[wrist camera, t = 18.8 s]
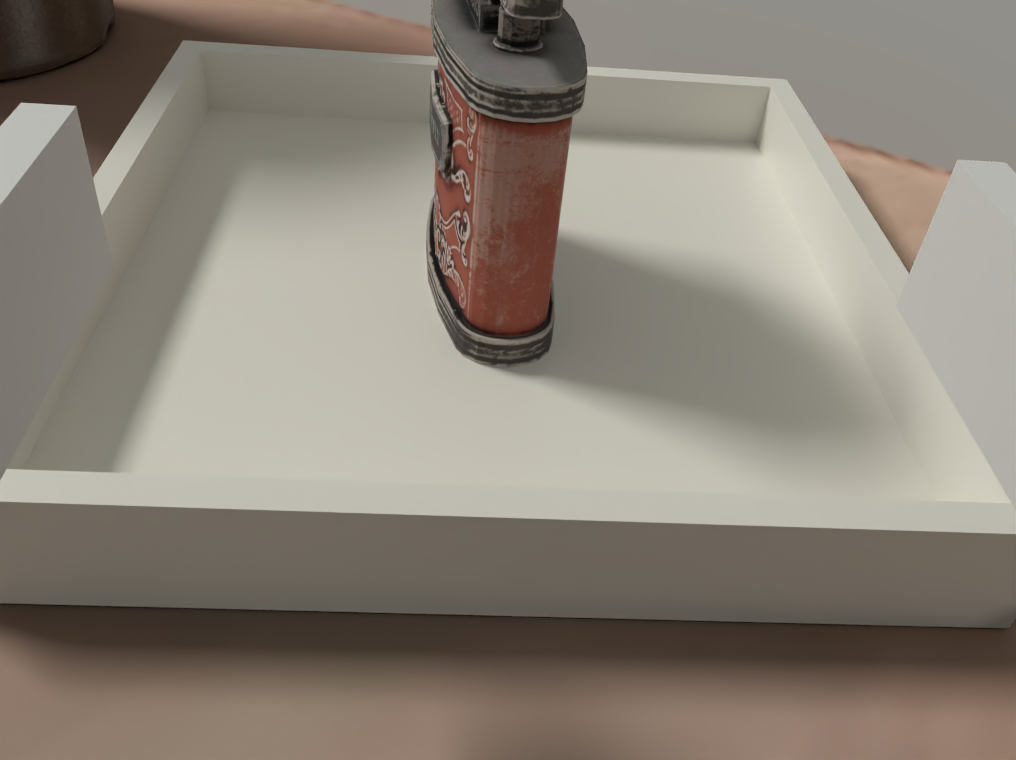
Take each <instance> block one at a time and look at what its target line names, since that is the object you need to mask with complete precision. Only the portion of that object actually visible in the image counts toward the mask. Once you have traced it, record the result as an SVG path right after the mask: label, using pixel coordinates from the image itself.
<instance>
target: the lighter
mask: <svg viewBox="0 0 1016 760" xmlns="http://www.w3.org/2000/svg"><path fill="white" fill-rule="evenodd" d="M431 29H432V39H433V49H434V51H435V54H436V56H437V58H438V70H437V69H434V70H433V71H432V72H431V74H430V115H429V125H430V137H431V148H432V151H433V154H434V156H435V185H434V196H433V198H432V199H431V203H430V209H429V215H428V221H427V229H426V260H427V276H428V284H429V287H430V290H431V294H432V297H433V300H434V303H435V306H436V310H437V313H438V315H439V317H440V319H441V321H442V323H443V325H444V327H445V329H446V331H447V333H448V335H449V337H450V338H451V340H452V342H453V344H454V346H455V348H456V349H457V350H458V351H459V352H460V354H461V355H462V356H463V357H465V358H467V359H469V360H471V361H473V362H475V363H478V364H482V365H486V366H490V367H500V368H513V367H519V366H526V365H529V364H531V363H534V362H536V361H538V360H540V359H541V358H543V357H544V356H545V355H546V354H547V353H548V352H549V349H550V346H551V342H552V335H553V327H554V320H555V308H554V283H553V279H552V276H553V268H554V260H555V252H556V244H557V236H558V228H559V221H560V213H561V205H562V197H563V189H564V181H565V173H566V166H567V158H568V150H569V142H570V134H571V126H572V118H573V115H575V114H577V113H578V112H580V111H581V108H582V106H583V103H584V95H585V88H586V80H587V73H588V71H587V62H586V53H585V45H584V43H583V41H582V38H581V36H580V34H579V31H578V29H577V27H576V24H575V22H574V20H573V19H572V18H571V16H570V15H569V14H568V13H567V11H566V10H565V9H564V8H563V0H432V8H431Z"/></svg>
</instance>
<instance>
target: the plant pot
mask: <svg viewBox="0 0 1016 760" xmlns="http://www.w3.org/2000/svg"><path fill="white" fill-rule="evenodd" d="M114 23H115V12H114V6H113V0H0V80H3V79H8V80H10V79H15V78H21V77H26V76H30V75H33V74H37V73H41V72H44V71H48V70H51V69H54V68H57V67H59V66H62V65H65V64H66V63H68V62H71V61H73V60H76V59H78V58H81V57H83V56H85V55H87V54H90V53H91V52H93V51H94V50H95V49H97V48H98V47H100V46H101V45H103V44H104V42H105V39H106V34H107V30H108V28H109V27H112V26H113V25H114Z"/></svg>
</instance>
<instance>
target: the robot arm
mask: <svg viewBox="0 0 1016 760" xmlns="http://www.w3.org/2000/svg"><path fill="white" fill-rule="evenodd" d="M112 269H113V263H112V259H111V255H110V250H109V246H108V241H107V237H106V233H105V228H104V224H103V220H102V215H101V211H100V207H99V202H98V198H97V194H96V189H95V185H94V181H93V176H92V172H91V168H90V163H89V159H88V155H87V150H86V146H85V142H84V137H83V133H82V129H81V124H80V120H79V115H78V111H77V107H76V106H68V105H52V104H35V103H20V104H19V106H18V107H17V108H16V109H15V110H14V111H13V112H12V114H11V115H10V116H9V117H8V118H7V119H6V120H5V121H4V123H3V124H2V125H1V126H0V480H1V478H2V476H3V475H4V473H5V471H6V469H7V467H8V465H9V463H10V461H11V459H12V458H13V456H14V454H15V452H16V450H17V448H18V446H19V444H20V443H21V441H22V439H23V437H24V435H25V433H26V431H27V429H28V427H29V426H30V424H31V422H32V420H33V418H34V416H35V414H36V412H37V411H38V409H39V407H40V405H41V403H42V401H43V399H44V397H45V395H46V394H47V392H48V390H49V388H50V386H51V384H52V382H53V380H54V379H55V377H56V375H57V373H58V371H59V369H60V367H61V365H62V363H63V362H64V360H65V358H66V356H67V354H68V352H69V350H70V348H71V347H72V345H73V343H74V341H75V339H76V337H77V335H78V333H79V331H80V330H81V328H82V326H83V324H84V322H85V320H86V318H87V316H88V315H89V313H90V311H91V309H92V307H93V305H94V303H95V301H96V299H97V298H98V296H99V294H100V292H101V290H102V288H103V286H104V284H105V282H106V281H107V279H108V277H109V275H110V273H111V271H112ZM896 307H897V309H898V311H899V312H900V314H901V316H902V317H903V319H904V321H905V322H906V324H907V326H908V328H909V329H910V331H911V333H912V334H913V336H914V338H915V339H916V341H917V343H918V345H919V346H920V348H921V350H922V351H923V353H924V355H925V357H926V358H927V360H928V362H929V363H930V365H931V367H932V368H933V370H934V372H935V374H936V375H937V377H938V379H939V380H940V382H941V384H942V386H943V387H944V389H945V391H946V392H947V394H948V396H949V397H950V399H951V401H952V403H953V404H954V406H955V408H956V409H957V411H958V413H959V415H960V416H961V418H962V420H963V421H964V423H965V425H966V426H967V428H968V430H969V432H970V433H971V435H972V437H973V438H974V440H975V442H976V444H977V445H978V447H979V449H980V450H981V452H982V454H983V455H984V457H985V459H986V461H987V462H988V464H989V466H990V467H991V469H992V471H993V473H994V474H995V476H996V478H997V479H998V481H999V483H1000V484H1001V486H1002V488H1003V490H1004V491H1005V493H1006V495H1007V496H1008V498H1009V500H1010V502H1011V503H1012V505H1013V507H1014V508H1015V510H1016V173H1015V172H1014V171H1013V170H1012V169H1011V168H1010V167H1009V166H1008V165H1007V164H1006V163H1005V162H988V161H971V160H957V163H956V165H955V167H954V170H953V172H952V174H951V177H950V179H949V181H948V184H947V186H946V188H945V191H944V193H943V196H942V198H941V200H940V203H939V205H938V207H937V210H936V212H935V214H934V217H933V219H932V222H931V224H930V226H929V229H928V231H927V233H926V236H925V238H924V240H923V243H922V245H921V248H920V250H919V252H918V255H917V257H916V259H915V262H914V264H913V266H912V269H911V271H910V274H909V276H908V278H907V281H906V283H905V285H904V288H903V290H902V292H901V295H900V297H899V300H898V302H897V304H896Z"/></svg>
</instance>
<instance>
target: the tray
mask: <svg viewBox="0 0 1016 760" xmlns="http://www.w3.org/2000/svg"><path fill="white" fill-rule="evenodd" d="M434 69H437V70H438V58H437V57H433V56H417V55H402V54H386V53H371V52H356V51H340V50H325V49H310V48H294V47H279V46H263V45H248V44H233V43H217V42H202V41H187V40H183V41H182V43H181V45H180V46H179V48H178V49H177V51H176V52H175V54H174V55H173V57H172V58H171V60H170V61H169V63H168V64H167V66H166V67H165V69H164V70H163V72H162V74H161V75H160V77H159V78H158V80H157V81H156V83H155V84H154V86H153V87H152V89H151V90H150V92H149V93H148V95H147V96H146V98H145V100H144V101H143V103H142V104H141V106H140V107H139V109H138V110H137V112H136V113H135V115H134V116H133V118H132V119H131V121H130V122H129V124H128V125H127V127H126V129H125V130H124V132H123V133H122V135H121V136H120V138H119V139H118V141H117V142H116V144H115V145H114V147H113V148H112V150H111V151H110V153H109V154H108V156H107V158H106V159H105V161H104V162H103V164H102V165H101V167H100V168H99V170H98V171H97V173H96V174H95V176H94V177H93V181H94V185H95V189H96V194H97V198H98V202H99V207H100V211H101V215H102V220H103V224H104V228H105V233H106V237H107V241H108V246H109V250H110V255H111V259H112V263H113V269H112V271H111V273H110V275H109V277H108V279H107V281H106V282H105V284H104V286H103V288H102V290H101V292H100V294H99V296H98V298H97V299H96V301H95V303H94V305H93V307H92V309H91V311H90V313H89V315H88V316H87V318H86V320H85V322H84V324H83V326H82V328H81V330H80V331H79V333H78V335H77V337H76V339H75V341H74V343H73V345H72V347H71V348H70V350H69V352H68V354H67V356H66V358H65V360H64V362H63V363H62V365H61V367H60V369H59V371H58V373H57V375H56V377H55V379H54V380H53V382H52V384H51V386H50V388H49V390H48V392H47V394H46V395H45V397H44V399H43V401H42V403H41V405H40V407H39V409H38V411H37V412H36V414H35V416H34V418H33V420H32V422H31V424H30V426H29V427H28V429H27V431H26V433H25V435H24V437H23V439H22V441H21V443H20V444H19V446H18V448H17V450H16V452H15V454H14V456H13V458H12V459H11V461H10V463H9V465H8V467H7V469H6V471H5V473H4V475H3V476H2V478H1V480H0V603H10V604H50V605H91V606H131V607H171V608H211V609H251V610H291V611H332V612H372V613H412V614H452V615H492V616H532V617H572V618H613V619H653V620H693V621H733V622H773V623H813V624H854V625H894V626H934V627H974V628H1010V626H1011V625H1012V624H1013V622H1014V621H1015V619H1016V510H1015V508H1014V507H1013V505H1012V503H1011V502H1010V500H1009V498H1008V496H1007V495H1006V493H1005V491H1004V490H1003V488H1002V486H1001V484H1000V483H999V481H998V479H997V478H996V476H995V474H994V473H993V471H992V469H991V467H990V466H989V464H988V462H987V461H986V459H985V457H984V455H983V454H982V452H981V450H980V449H979V447H978V445H977V444H976V442H975V440H974V438H973V437H972V435H971V433H970V432H969V430H968V428H967V426H966V425H965V423H964V421H963V420H962V418H961V416H960V415H959V413H958V411H957V409H956V408H955V406H954V404H953V403H952V401H951V399H950V397H949V396H948V394H947V392H946V391H945V389H944V387H943V386H942V384H941V382H940V380H939V379H938V377H937V375H936V374H935V372H934V370H933V368H932V367H931V365H930V363H929V362H928V360H927V358H926V357H925V355H924V353H923V351H922V350H921V348H920V346H919V345H918V343H917V341H916V339H915V338H914V336H913V334H912V333H911V331H910V329H909V328H908V326H907V324H906V322H905V321H904V319H903V317H902V316H901V314H900V312H899V311H898V309H897V307H896V304H897V302H898V300H899V297H900V295H901V292H902V290H903V288H904V285H905V283H906V281H907V278H908V276H909V273H908V271H907V270H906V268H905V267H904V265H903V263H902V262H901V260H900V259H899V257H898V256H897V254H896V252H895V251H894V249H893V248H892V246H891V244H890V243H889V241H888V240H887V238H886V236H885V235H884V233H883V232H882V230H881V229H880V227H879V225H878V224H877V222H876V221H875V219H874V217H873V216H872V214H871V213H870V211H869V210H868V208H867V206H866V205H865V203H864V202H863V200H862V198H861V197H860V195H859V194H858V192H857V191H856V189H855V187H854V186H853V184H852V183H851V181H850V179H849V178H848V176H847V175H846V173H845V172H844V170H843V168H842V167H841V165H840V164H839V162H838V160H837V159H836V157H835V156H834V154H833V153H832V151H831V149H830V148H829V146H828V145H827V143H826V141H825V140H824V138H823V137H822V135H821V134H820V132H819V130H818V129H817V127H816V126H815V124H814V122H813V121H812V119H811V118H810V116H809V115H808V113H807V111H806V110H805V108H804V107H803V105H802V103H801V102H800V100H799V99H798V97H797V95H796V94H795V92H794V91H793V89H792V88H791V86H790V84H789V83H788V81H787V80H786V79H771V78H755V77H739V76H724V75H709V74H694V73H679V72H662V71H648V70H647V71H646V70H632V69H616V68H601V67H587V71H588V73H587V80H586V88H585V95H584V103H583V106H582V108H581V111H580V112H578V113H577V114H575V115H573V118H572V126H571V134H570V142H569V150H568V158H567V166H566V173H565V181H564V189H563V197H562V205H561V213H560V221H559V228H558V236H557V244H556V252H555V260H554V268H553V276H552V279H553V283H554V308H555V320H554V327H553V335H552V342H551V346H550V349H549V352H548V353H547V354H546V355H545V356H544V357H543V358H541V359H540V360H538V361H536V362H534V363H531V364H529V365H526V366H519V367H513V368H500V367H490V366H486V365H482V364H478V363H475V362H473V361H471V360H469V359H467V358H465V357H463V356H462V355H461V354H460V352H459V351H458V350H457V349H456V348H455V346H454V344H453V342H452V340H451V338H450V337H449V335H448V333H447V331H446V329H445V327H444V325H443V323H442V321H441V319H440V317H439V315H438V313H437V310H436V306H435V303H434V300H433V297H432V294H431V290H430V287H429V284H428V276H427V260H426V229H427V221H428V215H429V209H430V203H431V199H432V198H433V196H434V185H435V156H434V154H433V151H432V148H431V137H430V125H429V115H430V74H431V72H432V71H433V70H434Z"/></svg>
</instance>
